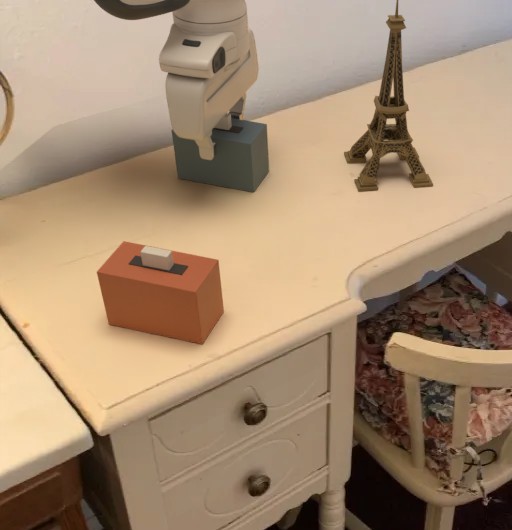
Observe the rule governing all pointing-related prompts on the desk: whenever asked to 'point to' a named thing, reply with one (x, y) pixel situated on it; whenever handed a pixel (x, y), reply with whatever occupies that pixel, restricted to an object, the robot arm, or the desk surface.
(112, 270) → the terracotta tissue box
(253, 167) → the slate tissue box
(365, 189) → the eiffel tower
